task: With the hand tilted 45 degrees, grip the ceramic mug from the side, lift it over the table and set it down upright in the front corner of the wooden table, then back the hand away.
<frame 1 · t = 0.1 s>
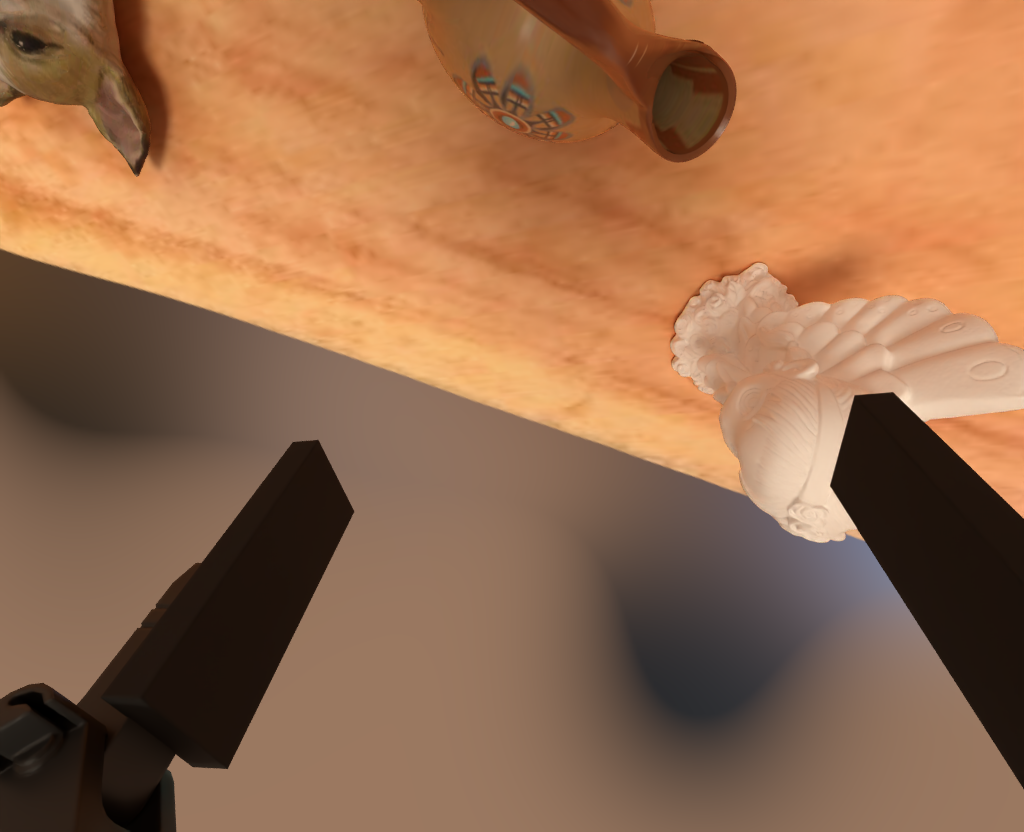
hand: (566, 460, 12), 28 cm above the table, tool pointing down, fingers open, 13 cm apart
ceramic vessel: (545, 39, 30), on the table
cherub figurine: (750, 324, 39), on the table
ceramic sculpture: (93, 23, 31), on the table
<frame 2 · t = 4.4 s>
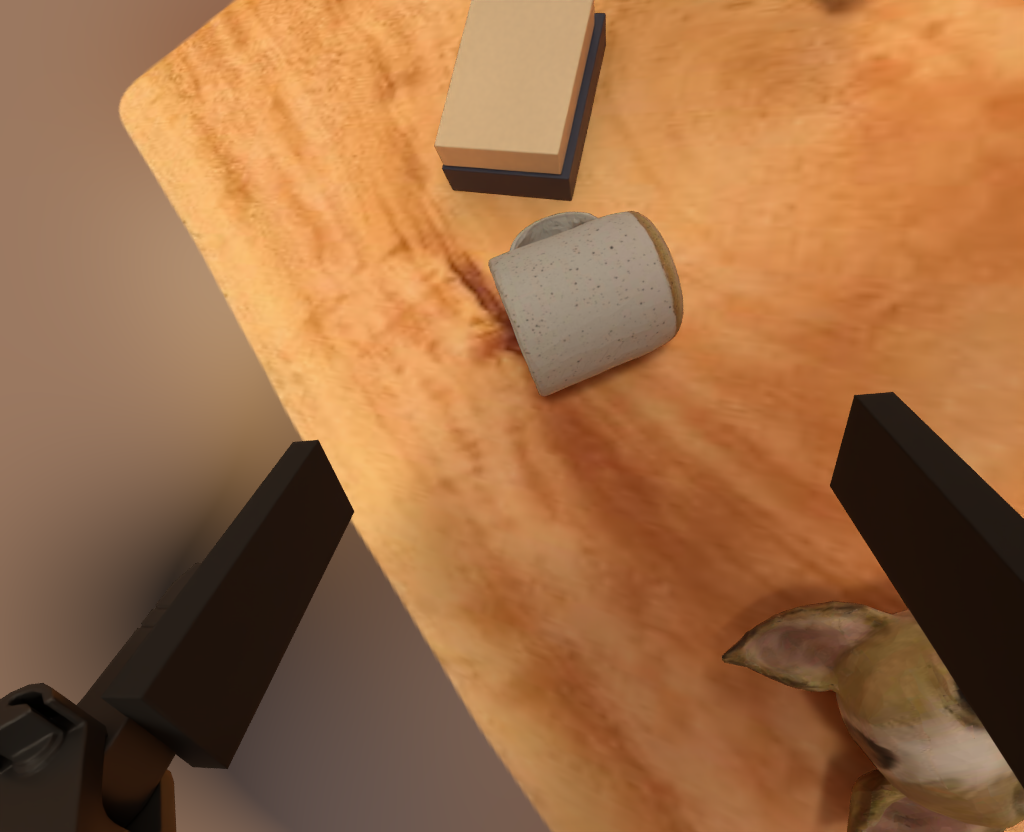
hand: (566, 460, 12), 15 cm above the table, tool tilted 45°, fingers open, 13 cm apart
ceramic mug: (573, 310, 29), on the table
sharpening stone: (528, 118, 31), on the table
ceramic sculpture: (902, 666, 23), on the table
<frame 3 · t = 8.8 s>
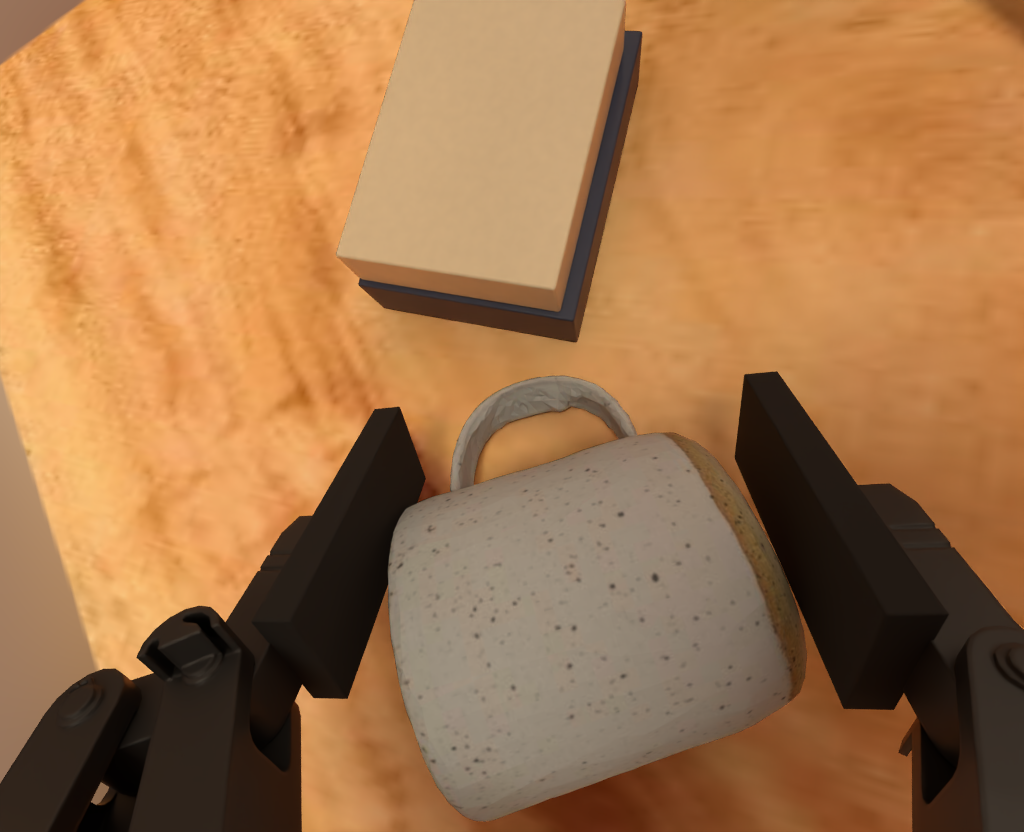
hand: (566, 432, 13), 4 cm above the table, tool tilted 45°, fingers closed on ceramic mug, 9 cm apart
ceramic mug: (568, 539, 17), on the table, touching gripper
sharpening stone: (509, 196, 19), on the table
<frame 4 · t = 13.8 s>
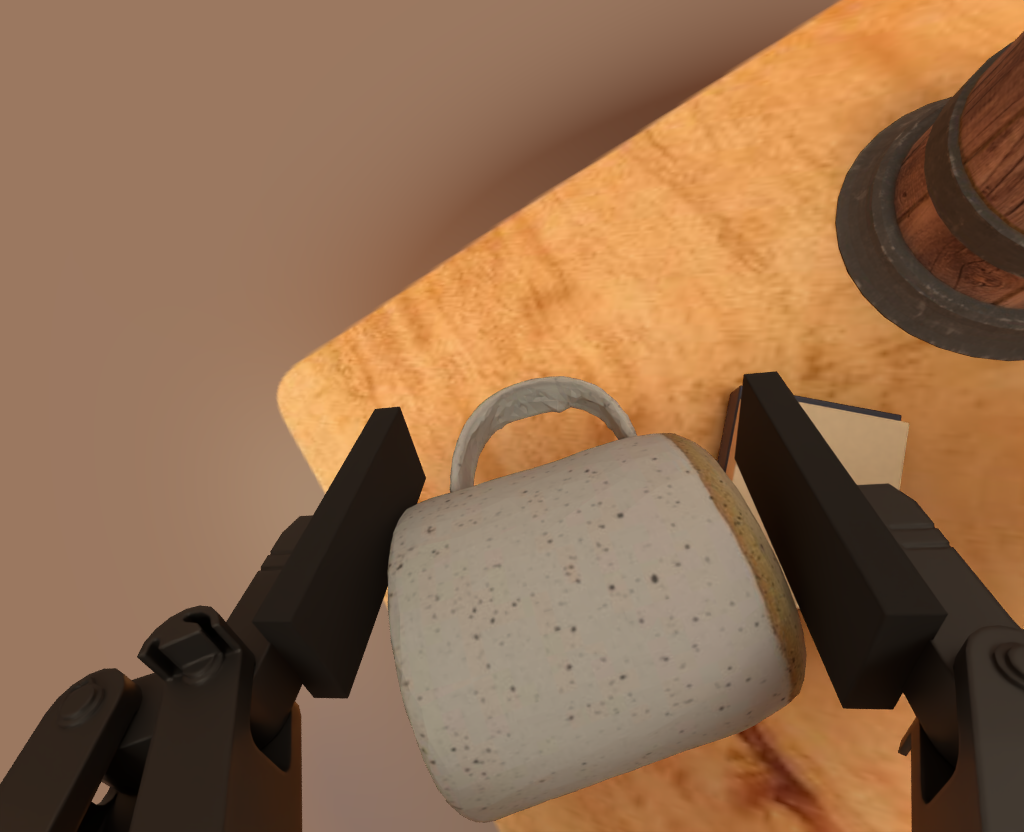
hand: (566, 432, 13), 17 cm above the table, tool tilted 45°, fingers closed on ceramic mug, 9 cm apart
ceramic mug: (568, 539, 17), point 13 cm above the table, touching gripper
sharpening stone: (786, 499, 27), on the table
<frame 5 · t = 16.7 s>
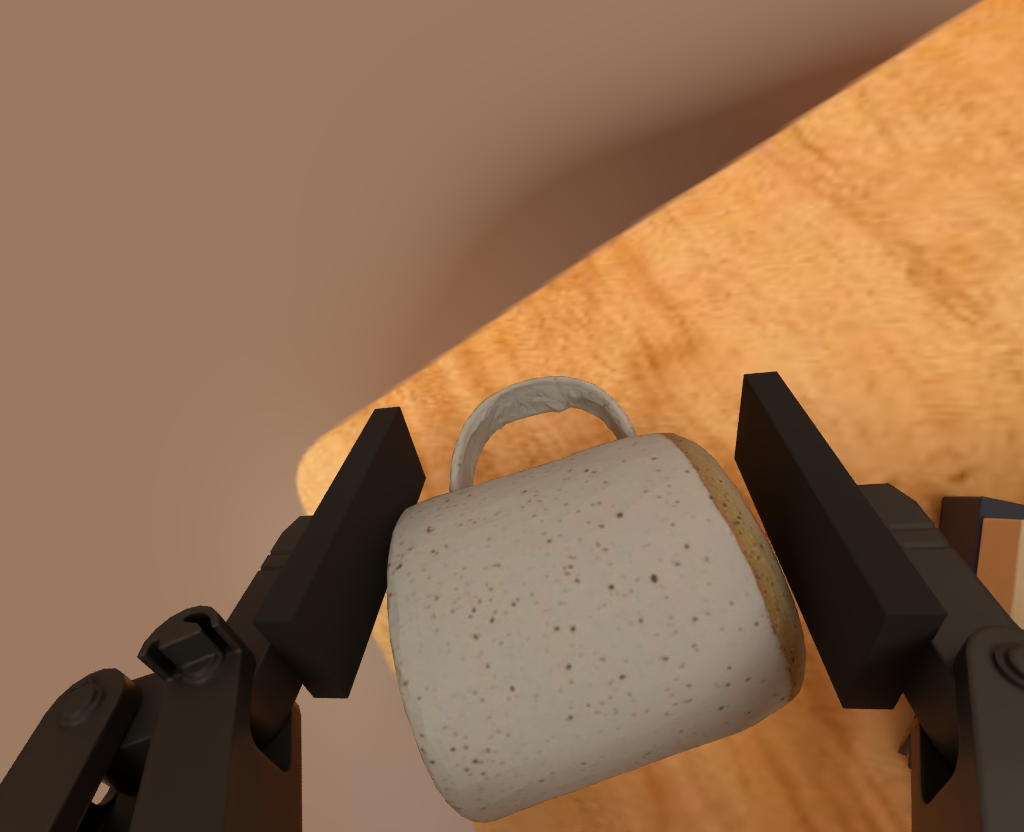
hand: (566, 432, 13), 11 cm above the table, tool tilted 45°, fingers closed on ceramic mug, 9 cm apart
ceramic mug: (567, 539, 17), point 7 cm above the table, touching gripper
when the fingers open (4 cm above the table, at t = 19.1 s): ceramic mug stays where it is, on the table.
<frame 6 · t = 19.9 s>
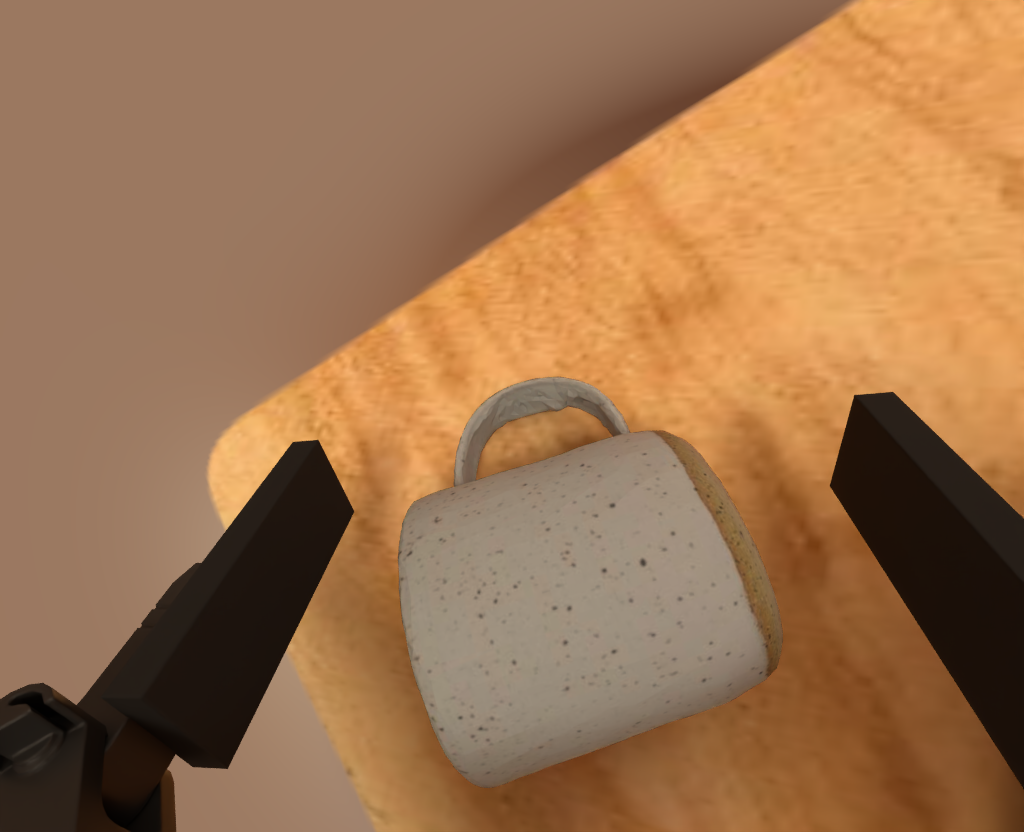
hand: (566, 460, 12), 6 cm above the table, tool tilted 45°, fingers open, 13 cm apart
ceramic mug: (565, 531, 18), on the table
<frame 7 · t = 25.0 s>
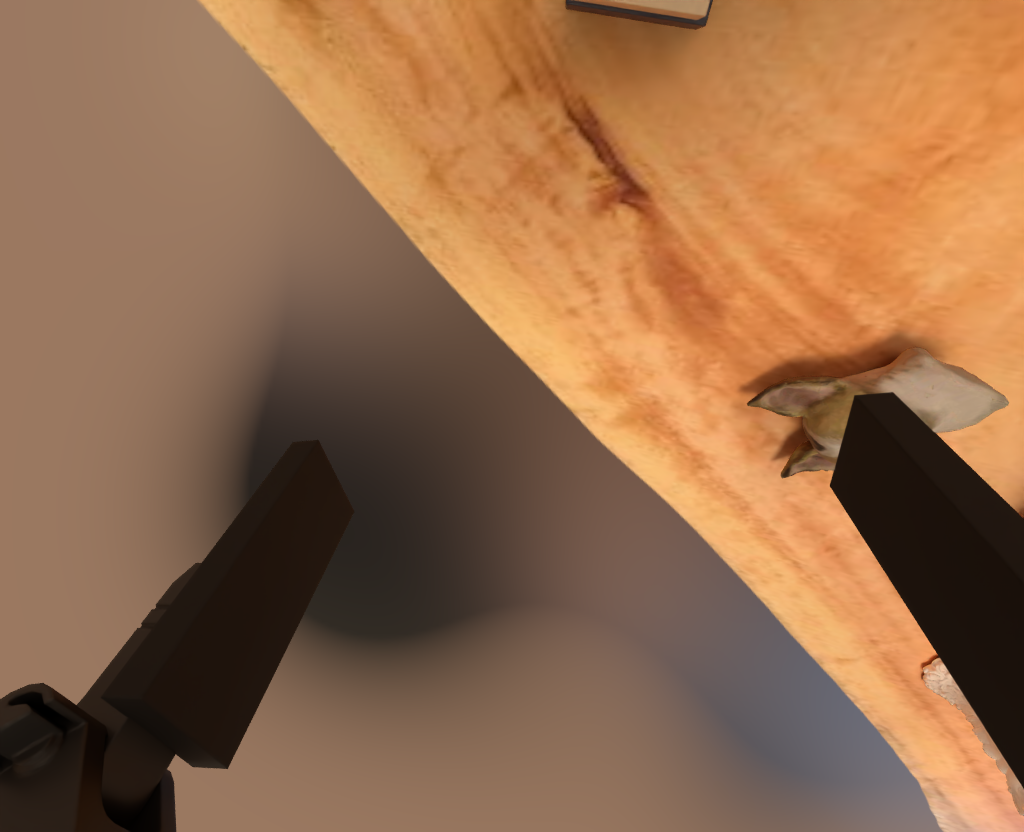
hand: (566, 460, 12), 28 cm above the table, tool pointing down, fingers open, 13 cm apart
cherub figurine: (977, 665, 62), on the table
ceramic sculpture: (842, 392, 42), on the table
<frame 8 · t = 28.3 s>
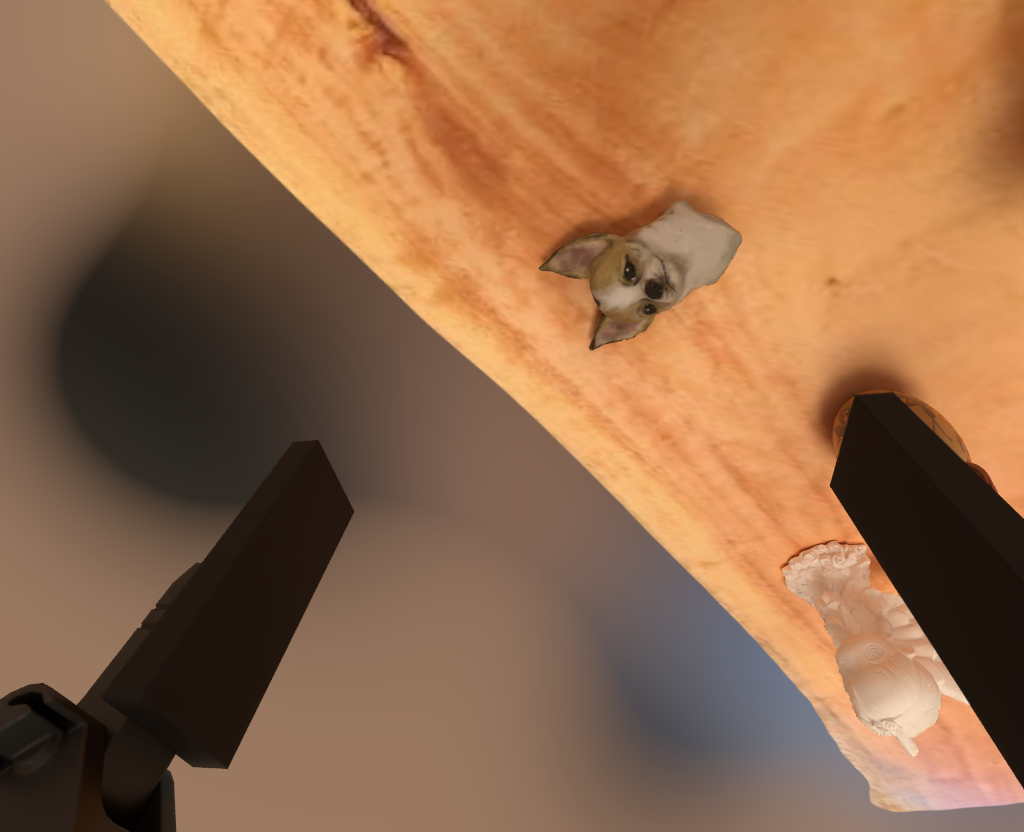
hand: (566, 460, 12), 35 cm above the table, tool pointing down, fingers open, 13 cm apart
ceramic vessel: (861, 413, 50), on the table
cherub figurine: (833, 566, 64), on the table
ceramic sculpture: (636, 260, 43), on the table
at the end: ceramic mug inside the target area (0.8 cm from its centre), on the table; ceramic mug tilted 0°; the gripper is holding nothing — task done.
